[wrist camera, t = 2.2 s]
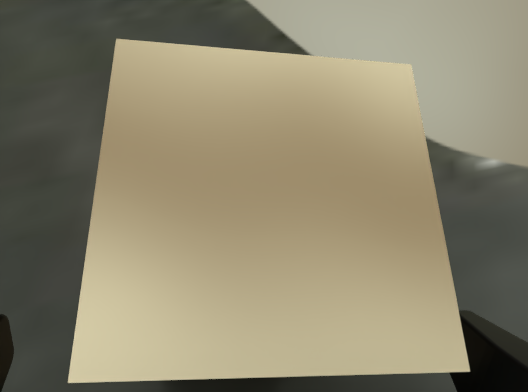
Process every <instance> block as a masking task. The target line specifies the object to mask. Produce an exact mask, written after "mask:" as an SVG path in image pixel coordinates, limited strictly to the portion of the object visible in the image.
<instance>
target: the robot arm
mask: <svg viewBox="0 0 528 392" xmlns="http://www.w3.org/2000/svg"><path fill="white" fill-rule="evenodd" d="M459 315H460V321H461V326H462V331H463V336H464V341H465V346H466V352H467V357H468V362H469V367H470V372H449V373H450V375H451V378H452V380H453V383H454V385H455V388H456V390H457V392H528V343H527V342H526V341H524V340H522V339H520V338H518V337H517V336H515V335H513V334H511V333H509V332H507V331H506V330H504V329H502V328H500V327H498V326H497V325H495V324H493V323H491V322H489V321H487V320H486V319H484V318H482V317H480V316H478V315H476V314H475V313H473V312H471V311H466V310H462V311H459ZM13 354H14V347H13V342H12V336H11V331H10V325H9V320H8V318H7V316H5V315H3V314H0V392H1V391H2V388H3V385H4V382H5V380H6V377H7V374H8V371H9V369H10V366H11V363H12V360H13Z"/></svg>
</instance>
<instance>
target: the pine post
mask: <svg viewBox="0 0 528 392" xmlns="http://www.w3.org/2000/svg"><path fill="white" fill-rule="evenodd" d="M442 372H470V367H469V362H468V357H467V352H466V346H465V341H464V336H463V331H462V326H461V321H460V315H459V310H458V305H457V300H456V295H455V289H454V284H453V279H452V274H451V269H450V263H449V258H448V253H447V248H446V243H445V237H444V232H443V227H442V222H441V217H440V212H439V206H438V201H437V196H436V191H435V186H434V180H433V175H432V170H431V165H430V160H429V154H428V149H427V144H426V139H425V134H424V128H423V123H422V118H421V113H420V108H419V103H418V98H417V92H416V87H415V82H414V77H413V71H412V66H411V64H400V63H389V62H377V61H365V60H354V59H342V58H330V57H318V56H308V55H296V54H285V53H273V52H262V51H250V50H239V49H227V48H216V47H204V46H193V45H181V44H170V43H158V42H147V41H135V40H124V39H116V45H115V52H114V59H113V66H112V73H111V80H110V87H109V95H108V102H107V109H106V116H105V123H104V130H103V137H102V144H101V151H100V158H99V165H98V172H97V180H96V187H95V194H94V201H93V208H92V215H91V222H90V229H89V236H88V243H87V250H86V257H85V265H84V272H83V279H82V286H81V293H80V300H79V307H78V314H77V321H76V328H75V335H74V342H73V349H72V357H71V364H70V371H69V378H68V383H84V382H120V381H155V380H191V379H227V378H263V377H299V376H334V375H370V374H406V373H442Z"/></svg>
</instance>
